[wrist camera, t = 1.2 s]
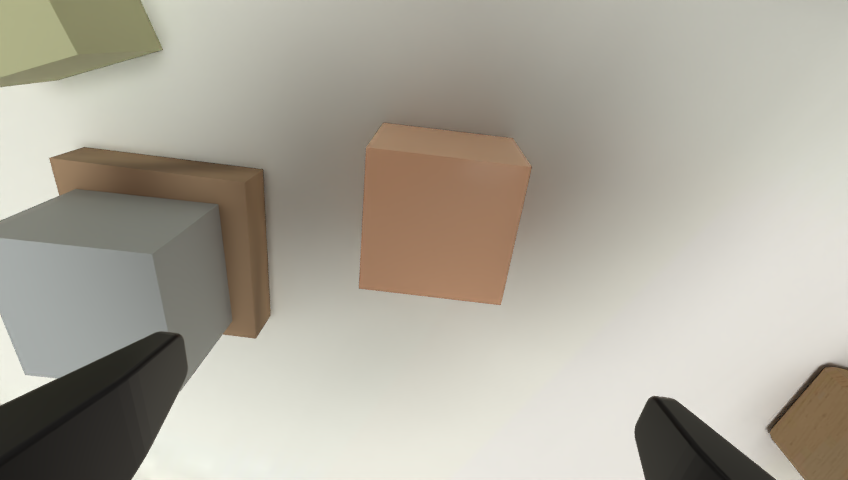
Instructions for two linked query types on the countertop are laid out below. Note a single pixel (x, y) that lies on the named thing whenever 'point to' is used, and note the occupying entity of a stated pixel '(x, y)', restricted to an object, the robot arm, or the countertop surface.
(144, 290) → the grey block
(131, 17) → the olive block
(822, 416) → the decorative block
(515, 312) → the countertop surface
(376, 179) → the terracotta block
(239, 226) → the walnut slab
